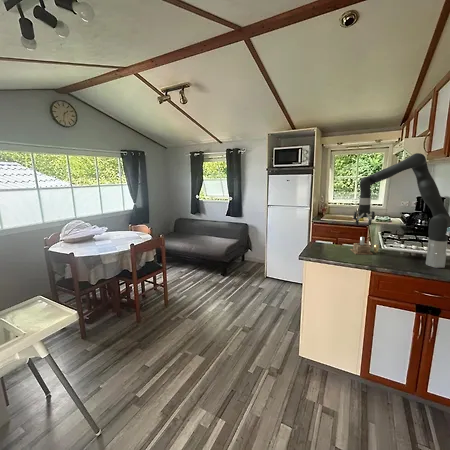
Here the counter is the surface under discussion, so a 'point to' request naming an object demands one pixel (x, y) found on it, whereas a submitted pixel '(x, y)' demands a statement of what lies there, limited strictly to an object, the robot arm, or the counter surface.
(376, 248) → the short brass pin
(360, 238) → the long steel pin
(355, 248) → the socket block
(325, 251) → the counter surface
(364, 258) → the counter surface
